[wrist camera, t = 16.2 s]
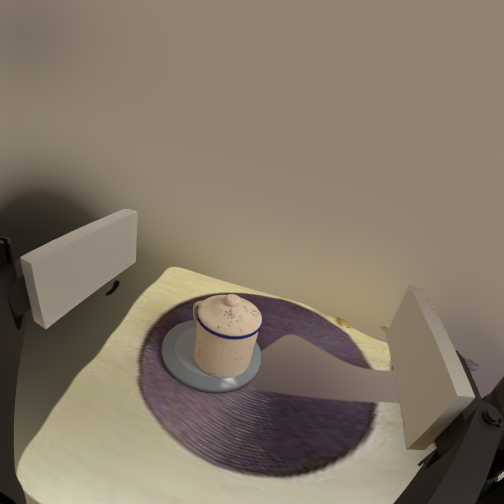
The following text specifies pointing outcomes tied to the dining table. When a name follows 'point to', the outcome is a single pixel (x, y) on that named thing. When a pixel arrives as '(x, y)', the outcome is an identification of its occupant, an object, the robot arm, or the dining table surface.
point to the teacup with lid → (225, 334)
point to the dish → (189, 373)
